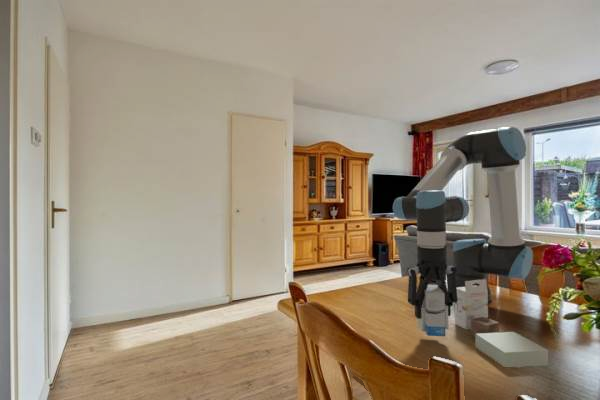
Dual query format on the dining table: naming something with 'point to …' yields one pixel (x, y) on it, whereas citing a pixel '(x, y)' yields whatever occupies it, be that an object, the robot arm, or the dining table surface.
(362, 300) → the dining table surface
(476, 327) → the walnut cube
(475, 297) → the ink cartridge box
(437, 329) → the ink box
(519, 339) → the pedestal block
